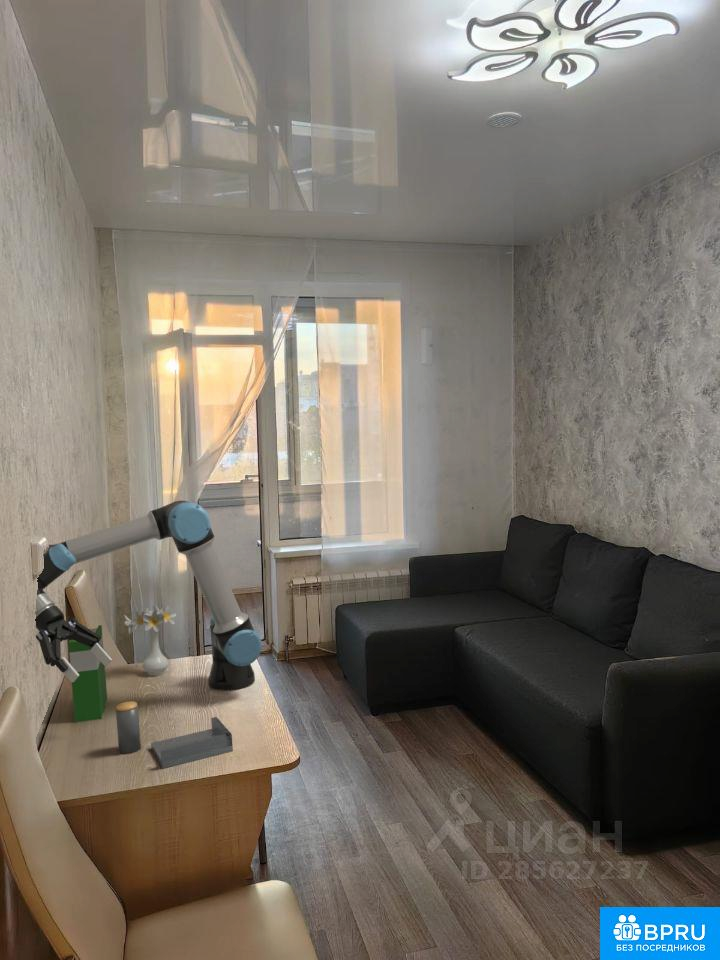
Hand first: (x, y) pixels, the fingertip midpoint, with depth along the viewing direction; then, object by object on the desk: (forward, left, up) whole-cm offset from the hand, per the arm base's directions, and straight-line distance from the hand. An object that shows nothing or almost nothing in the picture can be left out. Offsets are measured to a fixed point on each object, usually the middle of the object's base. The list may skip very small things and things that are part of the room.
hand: (92, 670), depth 199 cm
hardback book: (-2, -28, -20) cm, 34 cm away
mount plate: (-21, +19, -20) cm, 35 cm away
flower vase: (-26, -52, -20) cm, 61 cm away
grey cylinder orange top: (-7, +9, -20) cm, 23 cm away
